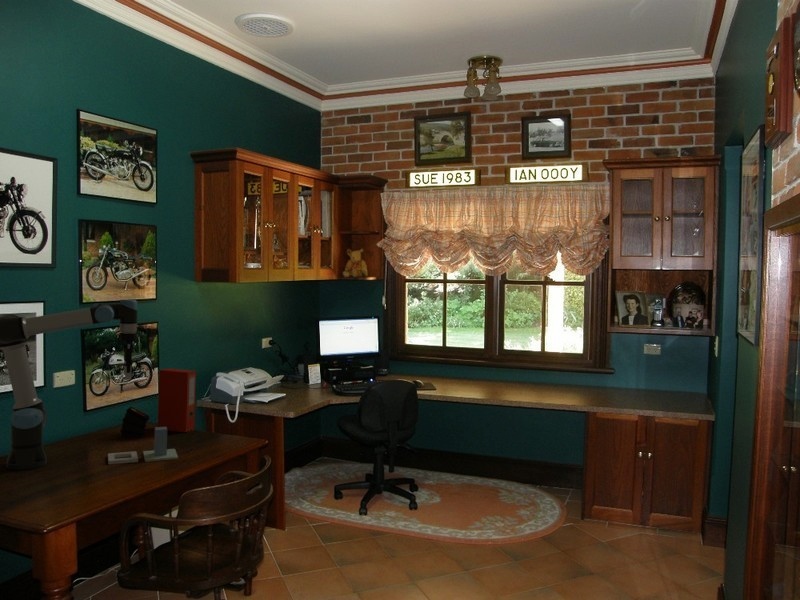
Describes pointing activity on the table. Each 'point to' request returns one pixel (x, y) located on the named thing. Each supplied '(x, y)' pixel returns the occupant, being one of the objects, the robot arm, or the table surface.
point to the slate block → (160, 441)
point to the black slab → (134, 423)
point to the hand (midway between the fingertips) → (127, 377)
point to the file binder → (176, 399)
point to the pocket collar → (122, 460)
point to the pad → (151, 456)
